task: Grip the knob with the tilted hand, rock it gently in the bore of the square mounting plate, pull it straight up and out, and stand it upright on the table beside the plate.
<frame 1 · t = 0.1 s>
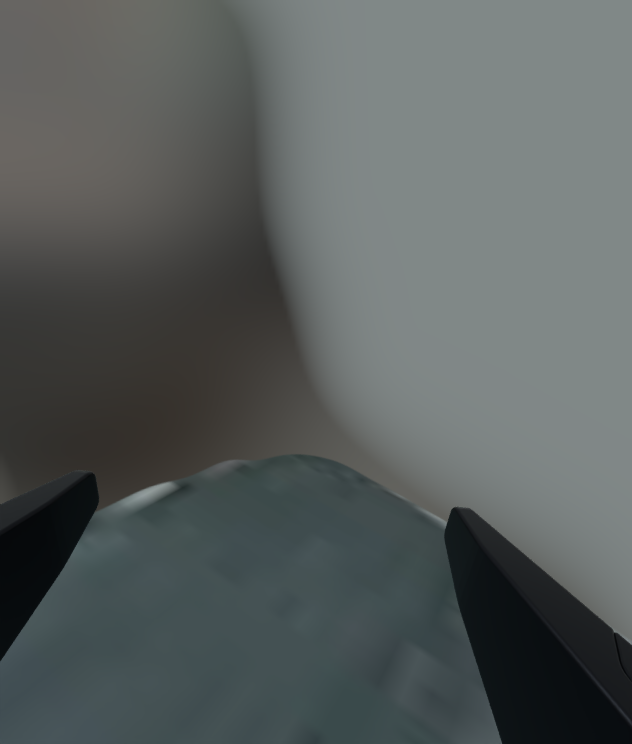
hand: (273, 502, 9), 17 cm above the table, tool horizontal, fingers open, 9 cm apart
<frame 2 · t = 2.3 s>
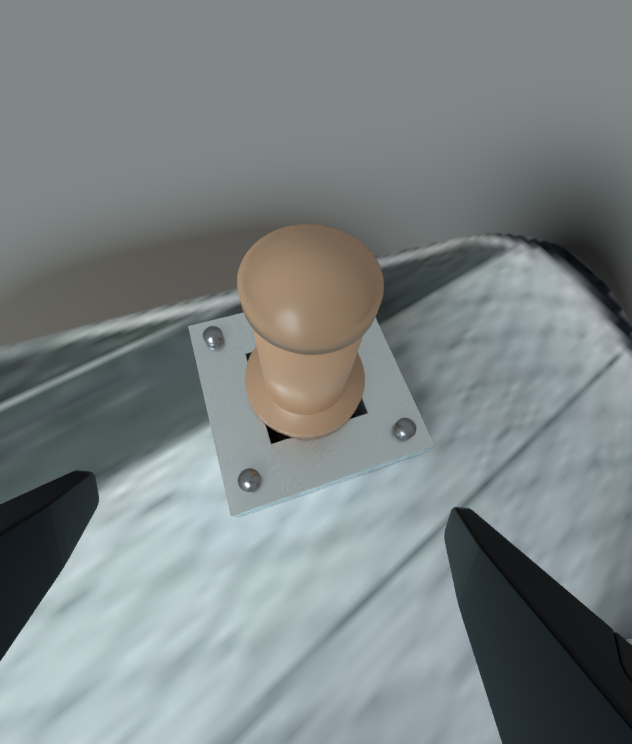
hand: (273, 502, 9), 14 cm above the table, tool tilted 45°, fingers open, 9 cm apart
square mounting plate: (304, 398, 24), on the table
knob: (304, 398, 24), resting in square mounting plate
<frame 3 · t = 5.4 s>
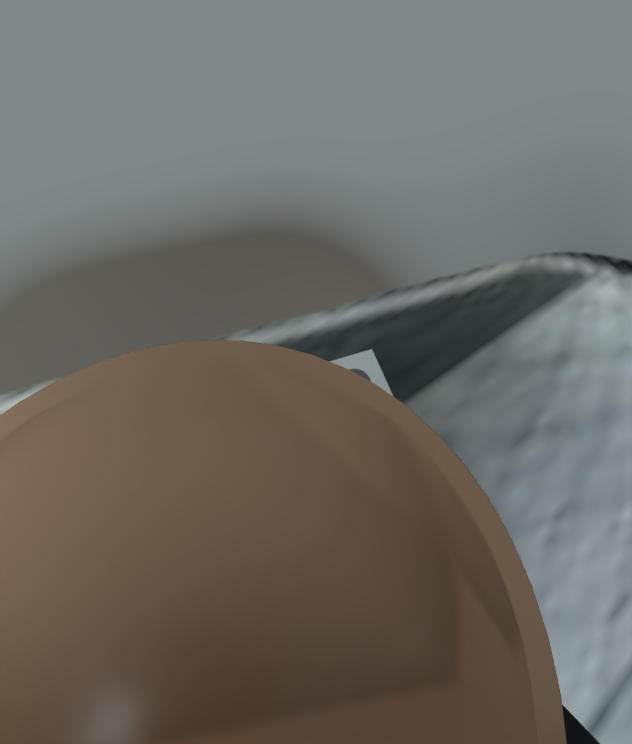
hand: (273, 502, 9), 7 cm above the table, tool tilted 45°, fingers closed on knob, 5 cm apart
square mounting plate: (278, 547, 14), on the table
knob: (278, 547, 14), resting in square mounting plate, touching gripper
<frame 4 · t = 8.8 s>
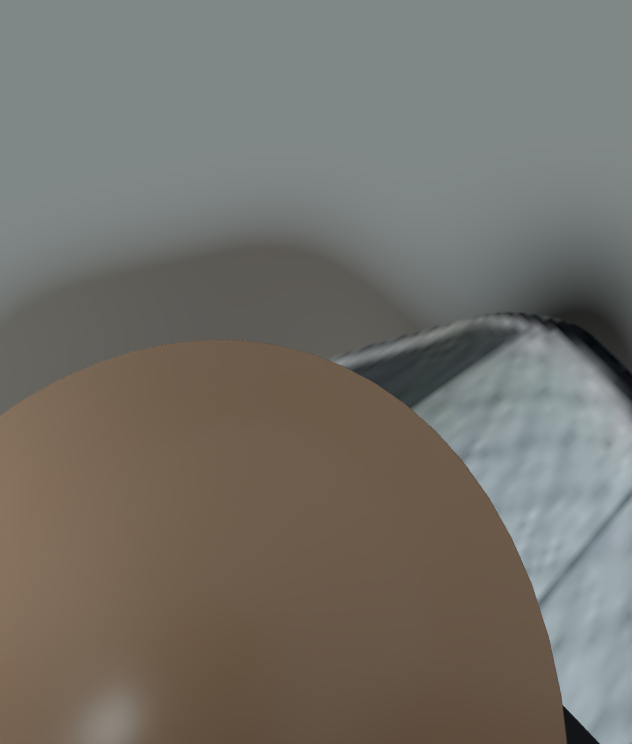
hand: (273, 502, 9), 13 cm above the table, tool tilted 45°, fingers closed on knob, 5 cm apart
knob: (278, 547, 14), point 7 cm above the table, touching gripper
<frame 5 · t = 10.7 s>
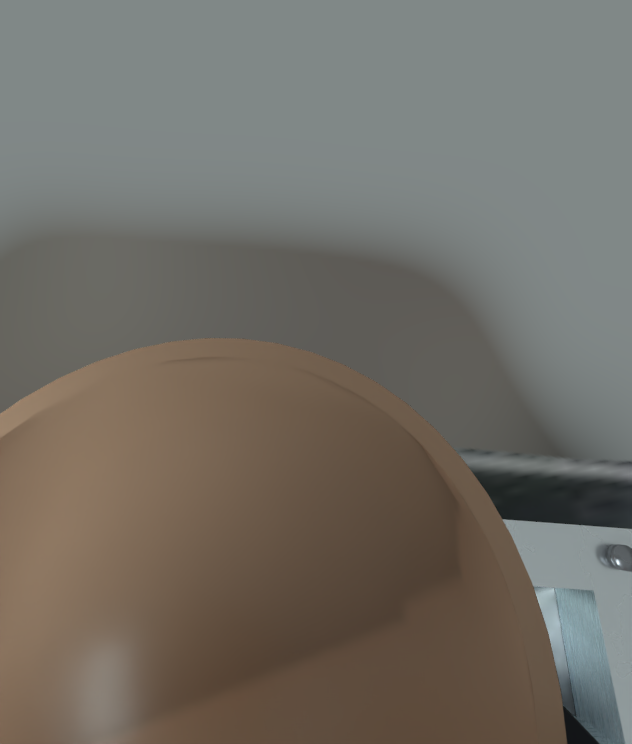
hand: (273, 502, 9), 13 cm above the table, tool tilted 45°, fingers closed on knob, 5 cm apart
square mounting plate: (509, 640, 19), on the table
knob: (278, 546, 14), point 7 cm above the table, touching gripper
when the fingers open (7 cm above the table, at t = 12.3 s): knob stays where it is, on the table.
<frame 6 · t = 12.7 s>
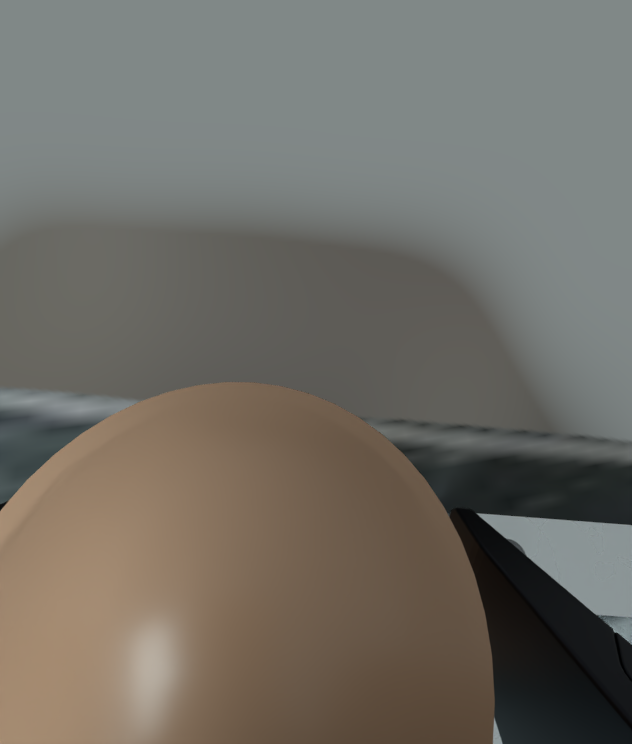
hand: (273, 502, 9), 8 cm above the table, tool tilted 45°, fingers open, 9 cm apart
square mounting plate: (592, 689, 14), on the table
knob: (279, 547, 15), on the table
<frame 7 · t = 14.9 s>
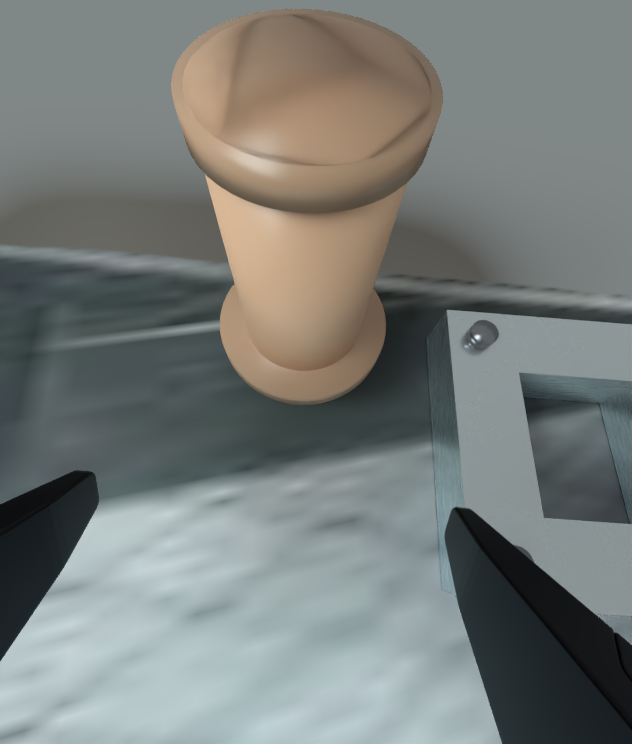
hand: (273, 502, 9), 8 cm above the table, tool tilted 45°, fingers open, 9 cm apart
square mounting plate: (553, 456, 17), on the table
knob: (302, 360, 19), on the table
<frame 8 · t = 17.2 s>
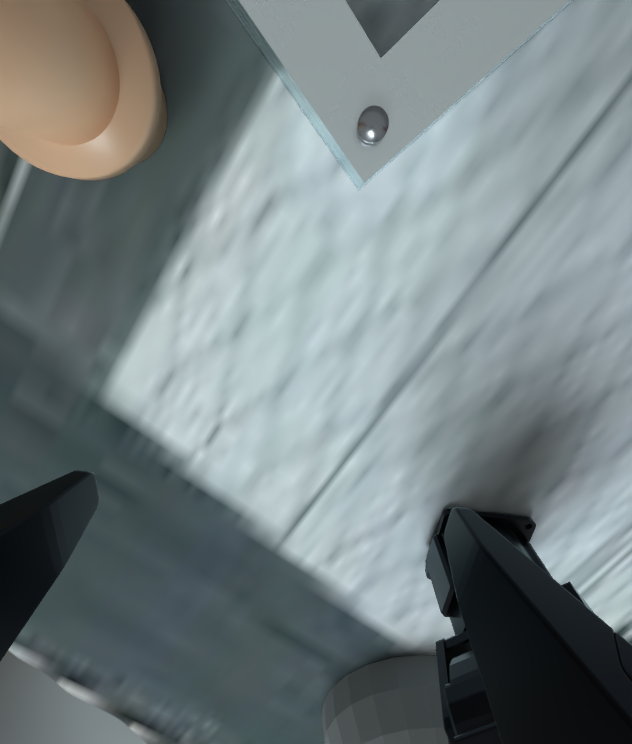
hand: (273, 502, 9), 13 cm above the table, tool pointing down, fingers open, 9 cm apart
baseball cap: (423, 726, 36), on the table
knob: (117, 107, 17), on the table
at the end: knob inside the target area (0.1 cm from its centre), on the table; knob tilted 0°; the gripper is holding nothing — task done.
